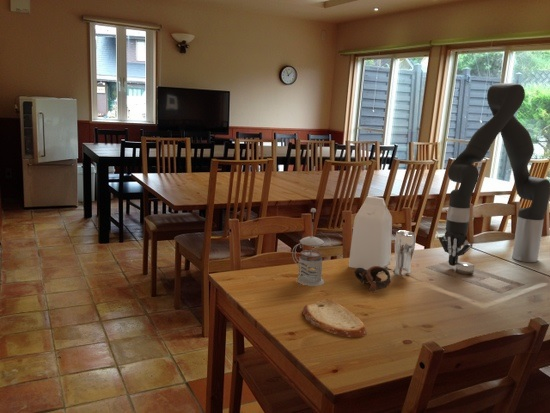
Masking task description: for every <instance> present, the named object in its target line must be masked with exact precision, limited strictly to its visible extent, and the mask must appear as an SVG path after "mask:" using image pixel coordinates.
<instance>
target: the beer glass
mask: <svg viewBox="0 0 550 413" xmlns="http://www.w3.org/2000/svg"><path fill="white" fill-rule="evenodd" d="M416 235H417V234H416V232H413V231H409V230H398V231H396V233H395V240H394V256H395V257H394V258H395V259H394V260H395V265H394V269H393V274H394V275H396V276H400V277H410V275H409V274H410V273H411V272H412V270H411V269H412V268H411V266H412V261H413V258H414V253H415V250H416V249H415V248H416Z"/></svg>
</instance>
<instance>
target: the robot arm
mask: <svg viewBox="0 0 550 413" xmlns="http://www.w3.org/2000/svg"><path fill="white" fill-rule="evenodd" d="M525 90H526V89H525V88H524V86H522V84H520V83H513V82H512V83H509V82H507V83H504V82H501V83H493V84H492V85H491V86H489V88H488V90H487V94H486V101H487V104H488V107H489V108H490V111H491V114H492V115H493V117H491V118H490V119H489V120H488V121H486V122H485V123H484V124H483V125H482V126H480V127H479V128H478V129H477V130H476V131H475V132H474V134H472V136H471V138H470V139H469V141H468V143H467V145H466V147H465V148H464V150H463V151H462V152H460V154H459V155H458V156H457V157H456V158H455V159H454V160H453V161H452V162H451V163H450V165H449V168H448V170H447V177H448V179H449V180H450V181H452V182H453V183H458V184H460V185H459V188H457V189H453V190H451V191H450V195H449V202H448V208H447V212H446V213H447V214H446V220H445V221H446V222H445V232H444V235H442V236H439V237H438V240H439V243H440V244H441V246H442V249H443V251H444V253H447V254H448V261H447V262H449V265H452V266H455V265H456V263H457V262H459V256H463V255H465V254H466V253H467V252H468V251H469V250H470V249H471V248H473V243H470V242H469V241H468V236H467V234H468V232H469V231H468V230H469V224H470V214H471V213H470V212H471V209H470V208H471V199H472V195H473V194H474V190H475V187H476V186H477V183H478V181H479V177H480V176H479V169H478V167H477V166H476V165H474V164H475V163H479V162H481V161H483V160H484V158H485V157H486V155H487V153H488V151H489V150H490V148H491V147H492V144H493V143H494V142H495V139H496V138H497V137H498V135H499V134H500V135H501V137H502V138H501V139H502V142H503V145H504V148H505V152H506V154H507V157H508V160H509V163H510V167H511V171H512V173H513V174H512V175H513V181H514V184H515V186H514V187H515V189H516V193H517V195H518V197H519V198H521V199H523V200H528V201H532V202H531V205H530V206H528V207H524V208H523V207H522V208H520V209H519V210H518V212H517V218H516V219H517V220H516V225H515V234H514V241H513V247H512V253H511V254H512V255H511V258H512V259H513V260H516V261H520V262H524V263H537V262H538V260H539V254H540V248H541V247H540V246H541V242H542V240H541V239H542V234H543V228H544V220H545V216H546V212H547V210H548V204H549V202H550V181H549V179H547V178H541V177H536V176H532V175H530V172H529V168H528V167H529V163H530V161H531V159H533V158H532V157H533V155H534V151H535V147H534V143H533V140H532V136H531V134H530V132H529V130H528V129H527V128H526V127H525V125H523V124H522V123H521V122H520V121H519V120H518V119H517V118H516V117H515V114H516V112H518V110H519V109H520V107H521V106H522V104H523V103H524V101H525V98H526V92H525Z"/></svg>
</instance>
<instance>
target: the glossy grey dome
mask: <svg viewBox="0 0 550 413" xmlns="http://www.w3.org/2000/svg"><path fill="white" fill-rule="evenodd" d="M474 268H475V264H473V263H472V262H471V263H470V262H468V261H467V262H466V261H458V262H457V263H456V273H458V274H461V275H473V273H474Z"/></svg>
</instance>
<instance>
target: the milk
mask: <svg viewBox="0 0 550 413" xmlns="http://www.w3.org/2000/svg"><path fill="white" fill-rule="evenodd" d="M386 205H387V204H386V201H385V199H384V197H376V196H369V195H368V196H366V197H365V199H364V201H363V204H362V205H361V207H360V209H358V211H357V213H356V215H355V217H354V220H353V226H352V233H351V234H352V235H351V243H350V251H349V261H348V267H349V268H352V269H357V268H363V269H365V270H368V269H369V268H370V267H372V266H380V267H382V268H385V269H386V270H387V269H388V267H387V266H389V265H391V260H392V257H391V256H392V235H393V234H392V231H393V229H392V228H393V216H392V214H391V213H390V210H389V209H388V207H387V206H386ZM381 273H382V272H378V274H381Z"/></svg>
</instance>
